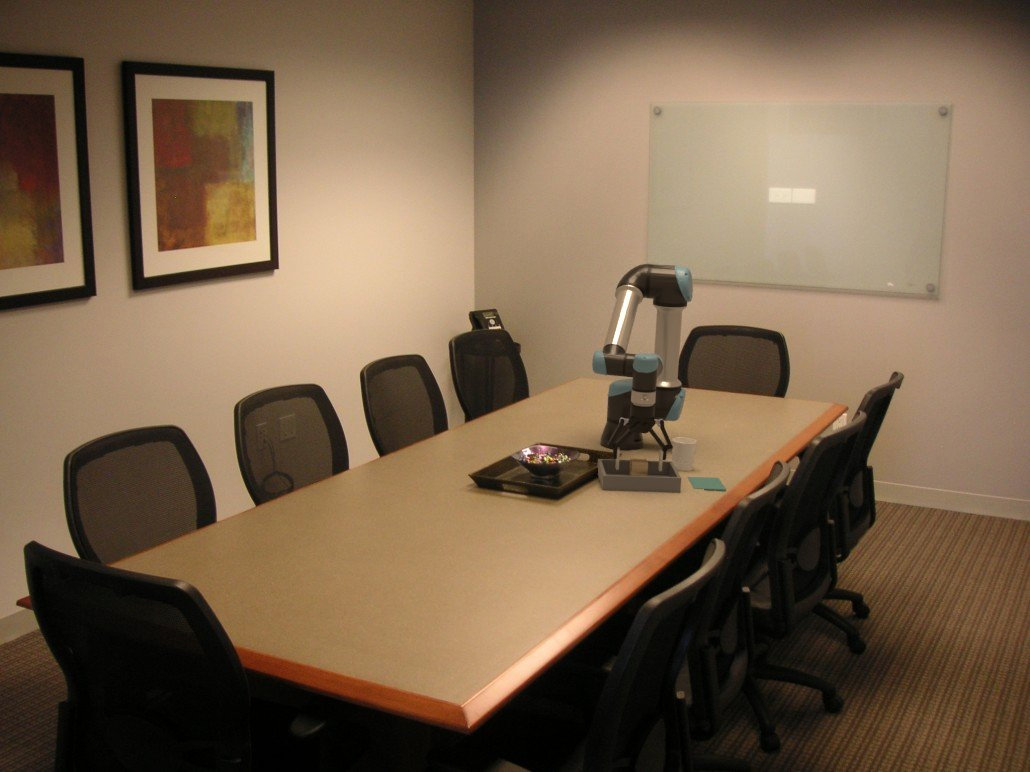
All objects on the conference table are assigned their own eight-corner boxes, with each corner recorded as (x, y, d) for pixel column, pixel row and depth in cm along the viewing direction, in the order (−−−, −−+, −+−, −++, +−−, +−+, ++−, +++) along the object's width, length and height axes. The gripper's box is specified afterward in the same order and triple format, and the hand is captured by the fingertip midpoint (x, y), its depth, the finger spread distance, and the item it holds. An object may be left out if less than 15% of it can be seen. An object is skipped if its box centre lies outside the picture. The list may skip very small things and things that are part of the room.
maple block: (628, 479, 349) (630, 458, 347) (644, 479, 349) (646, 458, 347) (630, 484, 344) (632, 462, 342) (646, 484, 344) (648, 463, 342)
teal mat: (687, 478, 354) (687, 476, 354) (718, 479, 354) (718, 477, 354) (694, 490, 342) (694, 488, 342) (725, 491, 342) (726, 489, 342)
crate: (597, 473, 355) (598, 458, 354) (671, 476, 356) (672, 461, 354) (602, 491, 337) (603, 475, 336) (680, 493, 338) (681, 478, 337)
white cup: (693, 473, 359) (696, 444, 357) (669, 471, 360) (671, 442, 358) (694, 467, 366) (697, 438, 364) (671, 464, 368) (673, 436, 366)
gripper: (604, 405, 337) (600, 471, 341) (685, 407, 337) (679, 474, 342) (601, 399, 344) (597, 464, 349) (680, 402, 345) (676, 467, 349)
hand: (638, 469), depth 345 cm, fingers open, 13 cm apart
